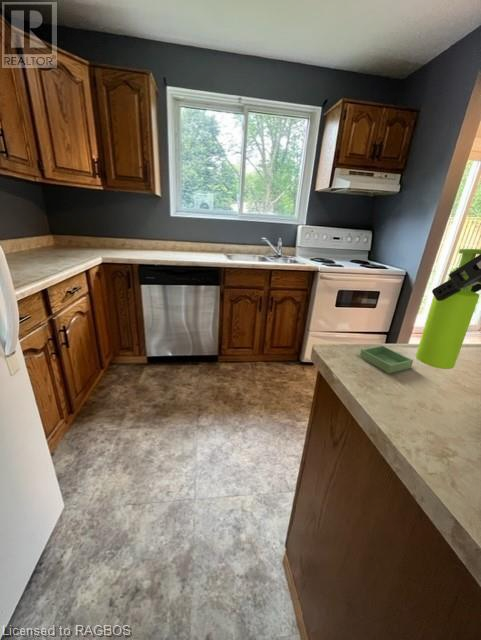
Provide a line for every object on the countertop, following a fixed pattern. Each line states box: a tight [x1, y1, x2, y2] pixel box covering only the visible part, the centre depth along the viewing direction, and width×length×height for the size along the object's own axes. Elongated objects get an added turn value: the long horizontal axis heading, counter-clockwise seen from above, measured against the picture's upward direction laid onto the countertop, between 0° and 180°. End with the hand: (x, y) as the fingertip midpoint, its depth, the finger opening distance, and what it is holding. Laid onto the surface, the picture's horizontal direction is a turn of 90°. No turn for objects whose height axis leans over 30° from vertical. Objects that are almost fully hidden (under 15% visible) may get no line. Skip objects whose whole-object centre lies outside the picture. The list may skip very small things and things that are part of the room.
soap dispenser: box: [415, 248, 481, 370], centre depth 46 cm, size 6×7×20 cm
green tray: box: [359, 345, 414, 374], centre depth 74 cm, size 10×8×2 cm
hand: (447, 294), depth 46 cm, fingers closed on soap dispenser, 6 cm apart
